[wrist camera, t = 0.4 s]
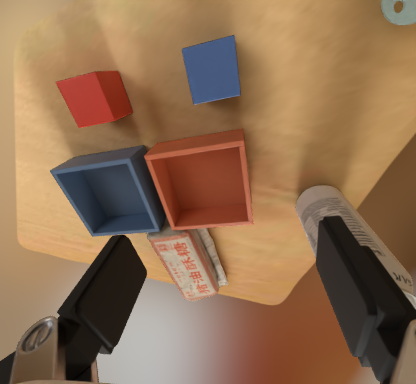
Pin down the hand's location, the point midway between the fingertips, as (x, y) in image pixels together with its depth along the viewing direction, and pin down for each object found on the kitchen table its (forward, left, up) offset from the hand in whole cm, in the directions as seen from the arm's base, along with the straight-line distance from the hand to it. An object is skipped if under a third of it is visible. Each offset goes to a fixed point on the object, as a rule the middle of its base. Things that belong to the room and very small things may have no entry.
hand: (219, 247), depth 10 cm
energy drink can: (+11, +11, -18) cm, 24 cm away
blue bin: (+5, -17, -18) cm, 25 cm away
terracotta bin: (+5, -4, -18) cm, 19 cm away
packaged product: (+19, -10, -18) cm, 28 cm away
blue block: (-7, 0, -18) cm, 19 cm away
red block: (-7, -13, -18) cm, 24 cm away
